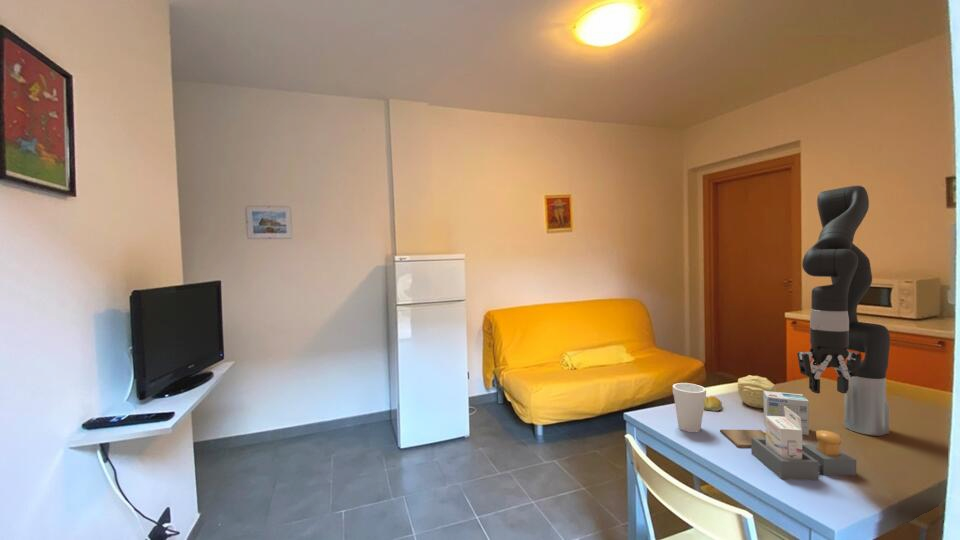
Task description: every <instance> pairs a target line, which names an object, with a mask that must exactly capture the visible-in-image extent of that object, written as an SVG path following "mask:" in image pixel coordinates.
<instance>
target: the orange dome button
mask: <svg viewBox="0 0 960 540" xmlns="http://www.w3.org/2000/svg"><path fill="white" fill-rule="evenodd" d="M815 435H816V440H817V445H818V450H819V451H821V452H822V453H824V454H825V455H839V449H840V445H841V444H842V438H841V437H842V436H841V435H840V434H838V433H836V432H833V431H830V430H822V429H821V430H816V431H815Z"/></svg>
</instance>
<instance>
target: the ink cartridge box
mask: <svg viewBox="0 0 960 540" xmlns="http://www.w3.org/2000/svg"><path fill="white" fill-rule="evenodd" d="M784 413H785V417H781V416H766V426H765V433H766V447H768V448H769V449H770V450H772V451H773V452H774V453H776V454H777V455H778V456H779V457H781V458H782V459H796V460H802V445H803V434H802V425H801V418H800V417H799V416H798V415H796V414H795V413H794V412H792V411H791V410H790V409H788V408H787V407H785V406H784ZM790 414H791V415H793V417H795V420H794V419H793V418H792V417H791V416H790Z"/></svg>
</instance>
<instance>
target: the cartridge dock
mask: <svg viewBox="0 0 960 540" xmlns="http://www.w3.org/2000/svg"><path fill="white" fill-rule="evenodd" d="M750 449H751V450H750V451H751V455H752V456H753V457H755V458H756V459H757V460H758V461H759V462H760V463H762V464H763V465H764V466H765V467H766V468H767V469H769V470H770V471H771V472H772V473H773V474H775V475H776V476H777V477H778V478H779V479H781V480H798V481H799V480H800V481H802V480H803V481H805V480H806V481H807V480H809V481H812V480H813V481H819V479H820V478H819V474H821V475H824V476H825V475H826V476H827V475H829V476H857V458H854V457H853V456H851V455H850V454H848V453H846V452H845V451H843V450H842V449H840V448H839V455H825V454H824V453H822V452H821V451H819V450H818V444H802V460H796V459H782V458H781V457H779V456H778V455H777V454H776V453H774V452H773V451H772V450H770V449H769V448H768V447H766V438H752V439H751V448H750Z"/></svg>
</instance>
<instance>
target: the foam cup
mask: <svg viewBox="0 0 960 540" xmlns="http://www.w3.org/2000/svg"><path fill="white" fill-rule="evenodd" d="M672 394H673V399H674V406H675V411H676V419H677V426H678V428H679V429H680V430H683V431H686V432H690V433H696V432H700V431H701V428H702V422H703V414H704V411H705V410H704V403H705V398H706V397H707V389H706V387H704V386H702V385H698V384H695V383H689V382H680V383H679V382H678V383H674V384H672Z"/></svg>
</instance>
